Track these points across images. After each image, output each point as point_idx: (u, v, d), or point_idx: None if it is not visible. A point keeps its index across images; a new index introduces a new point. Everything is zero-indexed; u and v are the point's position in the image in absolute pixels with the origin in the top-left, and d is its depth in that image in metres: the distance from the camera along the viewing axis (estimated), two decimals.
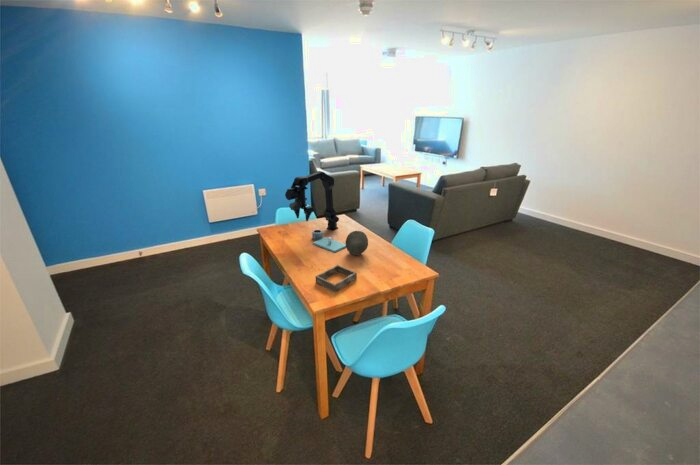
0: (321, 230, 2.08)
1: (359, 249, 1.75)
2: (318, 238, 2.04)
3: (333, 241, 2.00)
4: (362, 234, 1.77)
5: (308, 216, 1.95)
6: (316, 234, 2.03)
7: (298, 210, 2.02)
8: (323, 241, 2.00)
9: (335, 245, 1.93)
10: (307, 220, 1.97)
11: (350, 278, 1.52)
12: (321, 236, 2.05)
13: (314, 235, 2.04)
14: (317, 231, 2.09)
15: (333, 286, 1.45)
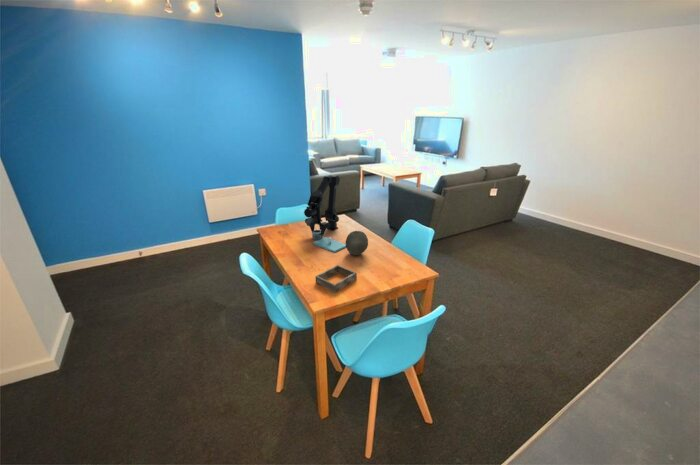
0: None
1: (359, 249, 1.75)
2: (318, 238, 2.04)
3: (333, 241, 2.00)
4: (362, 234, 1.77)
5: (323, 231, 2.03)
6: (316, 234, 2.03)
7: (313, 225, 2.09)
8: (323, 241, 2.00)
9: (335, 245, 1.93)
10: (322, 235, 2.04)
11: (350, 278, 1.52)
12: (321, 236, 2.05)
13: (314, 235, 2.04)
14: (317, 231, 2.09)
15: (333, 286, 1.45)
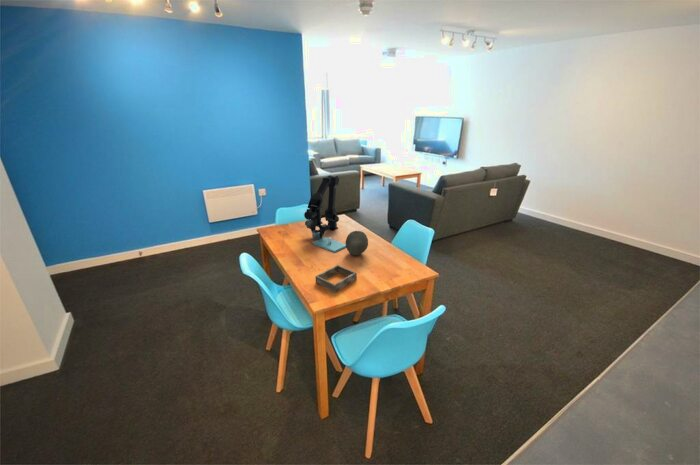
0: None
1: (359, 249, 1.75)
2: (318, 238, 2.04)
3: (333, 241, 2.00)
4: (362, 234, 1.77)
5: (322, 233, 2.04)
6: (316, 234, 2.03)
7: (314, 228, 2.09)
8: (323, 241, 2.00)
9: (335, 245, 1.93)
10: (321, 237, 2.05)
11: (350, 278, 1.52)
12: None
13: (314, 235, 2.04)
14: (317, 231, 2.09)
15: (333, 286, 1.45)
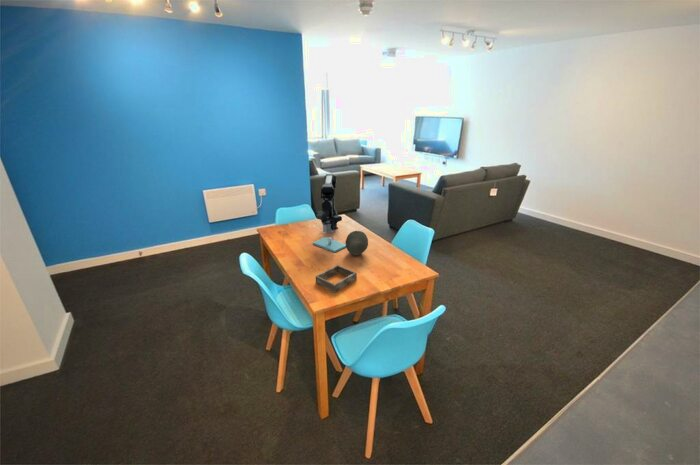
0: None
1: (359, 249, 1.75)
2: (329, 230, 1.89)
3: (333, 241, 2.00)
4: (362, 234, 1.77)
5: (334, 225, 1.89)
6: (327, 226, 1.88)
7: (325, 219, 1.94)
8: (323, 241, 2.00)
9: (335, 245, 1.93)
10: (333, 229, 1.90)
11: (350, 278, 1.52)
12: None
13: (325, 227, 1.89)
14: (328, 223, 1.94)
15: (333, 286, 1.45)
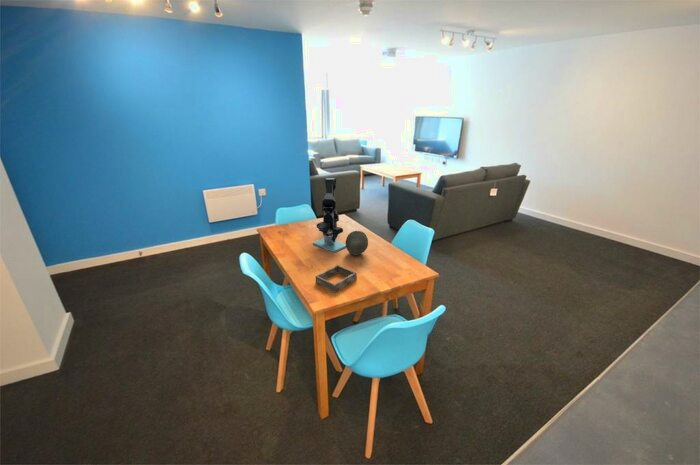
0: None
1: (359, 249, 1.75)
2: (330, 242, 1.92)
3: None
4: (362, 234, 1.77)
5: (335, 237, 1.92)
6: (328, 237, 1.91)
7: (326, 230, 1.97)
8: (323, 241, 2.00)
9: (335, 245, 1.93)
10: (334, 240, 1.93)
11: (350, 278, 1.52)
12: None
13: (327, 239, 1.91)
14: (329, 234, 1.96)
15: (333, 286, 1.45)
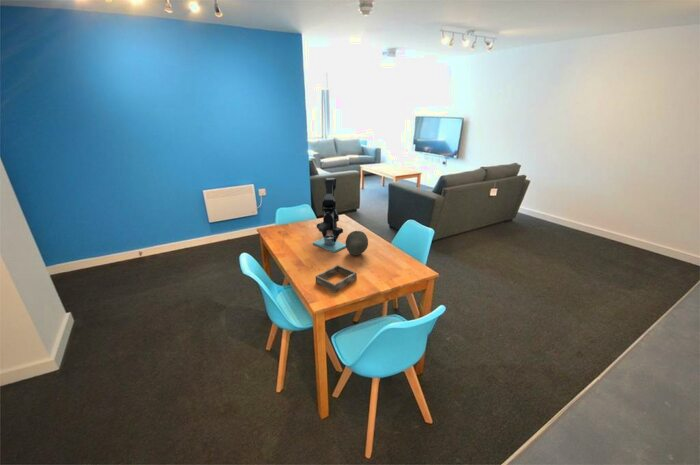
0: None
1: (359, 249, 1.75)
2: (331, 244, 1.93)
3: None
4: (362, 234, 1.77)
5: (336, 237, 1.91)
6: (329, 239, 1.91)
7: (325, 231, 1.97)
8: (323, 241, 2.00)
9: (335, 245, 1.93)
10: (335, 241, 1.92)
11: (350, 278, 1.52)
12: None
13: (327, 241, 1.92)
14: (329, 236, 1.97)
15: (333, 286, 1.45)
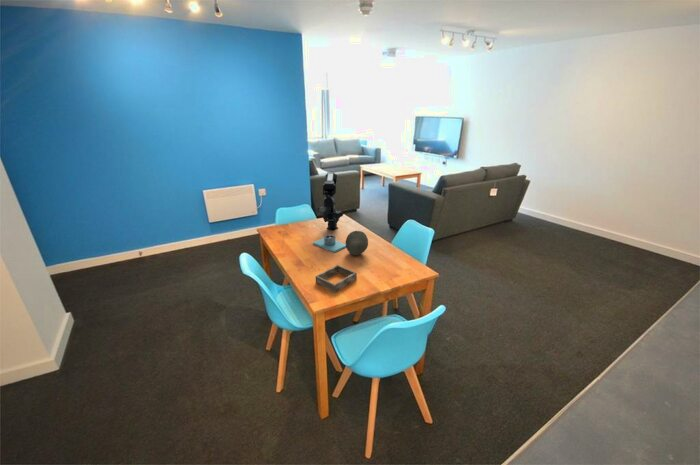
0: (334, 235, 1.96)
1: (359, 249, 1.75)
2: (331, 244, 1.93)
3: None
4: (362, 234, 1.77)
5: (336, 220, 1.97)
6: (329, 239, 1.91)
7: (326, 214, 2.03)
8: (323, 241, 2.00)
9: (335, 245, 1.93)
10: (335, 224, 1.98)
11: (350, 278, 1.52)
12: (334, 242, 1.94)
13: (327, 241, 1.92)
14: (329, 236, 1.97)
15: (333, 286, 1.45)
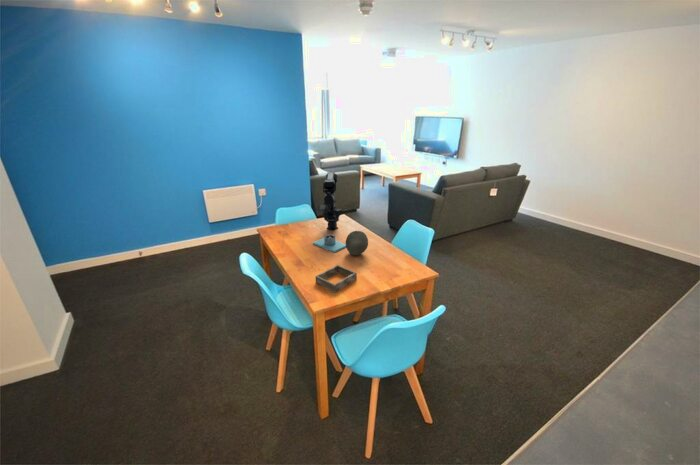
0: (334, 235, 1.96)
1: (359, 249, 1.75)
2: (331, 244, 1.93)
3: None
4: (362, 234, 1.77)
5: (337, 218, 1.99)
6: (329, 239, 1.91)
7: (326, 212, 2.05)
8: (323, 241, 2.00)
9: (335, 245, 1.93)
10: (335, 222, 2.00)
11: (350, 278, 1.52)
12: (334, 242, 1.94)
13: (327, 241, 1.92)
14: (329, 236, 1.97)
15: (333, 286, 1.45)
